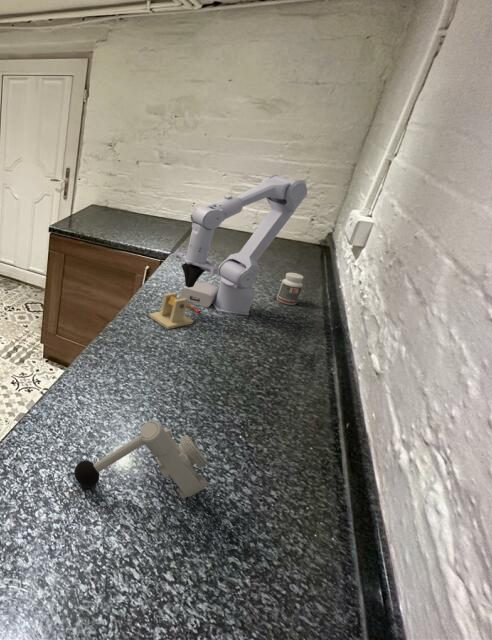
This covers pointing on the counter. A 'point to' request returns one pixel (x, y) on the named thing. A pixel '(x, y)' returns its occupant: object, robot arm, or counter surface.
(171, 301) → the lever
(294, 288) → the pill bottle
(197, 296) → the charger
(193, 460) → the valve
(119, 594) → the counter surface
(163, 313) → the bracket
